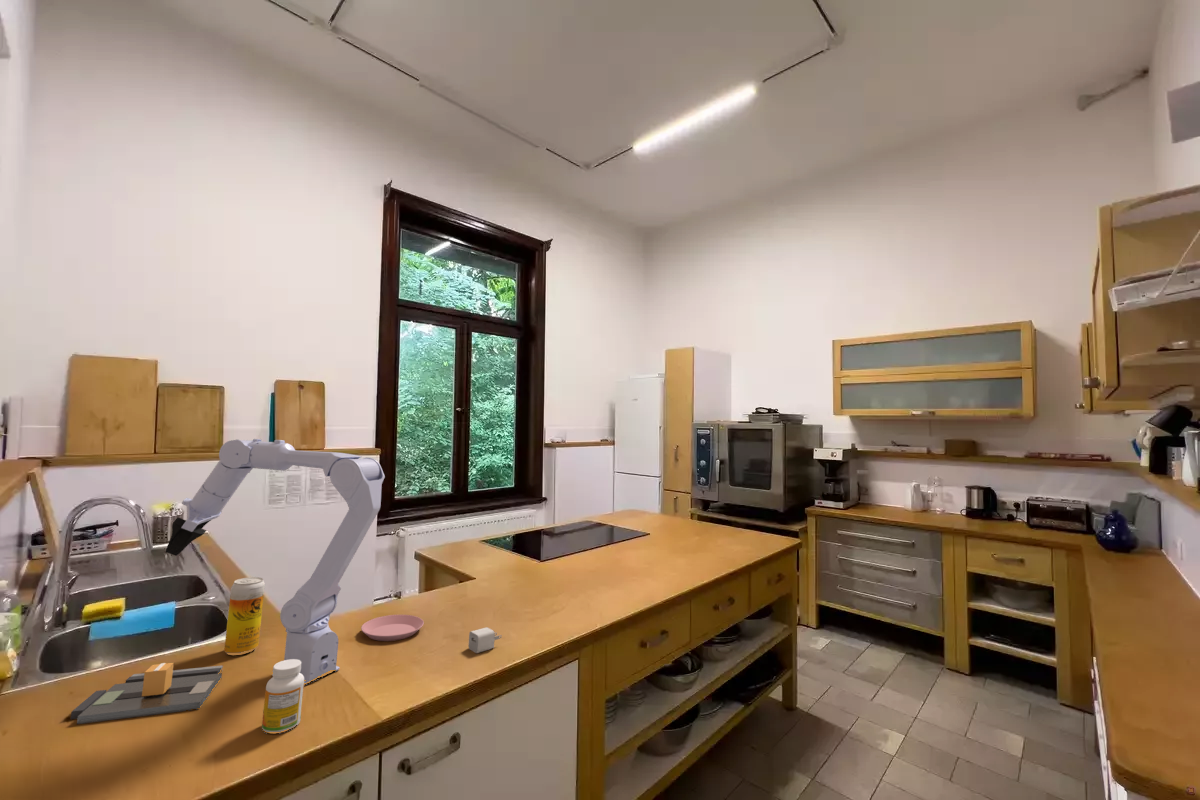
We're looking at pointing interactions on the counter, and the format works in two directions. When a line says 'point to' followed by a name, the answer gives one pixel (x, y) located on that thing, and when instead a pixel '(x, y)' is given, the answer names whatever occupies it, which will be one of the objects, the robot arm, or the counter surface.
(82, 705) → the flat board
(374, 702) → the counter surface
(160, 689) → the cardboard box
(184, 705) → the panel
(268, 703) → the supplement bottle
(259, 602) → the beer can
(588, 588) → the counter surface
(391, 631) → the plate
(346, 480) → the robot arm
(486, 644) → the usb wall charger
